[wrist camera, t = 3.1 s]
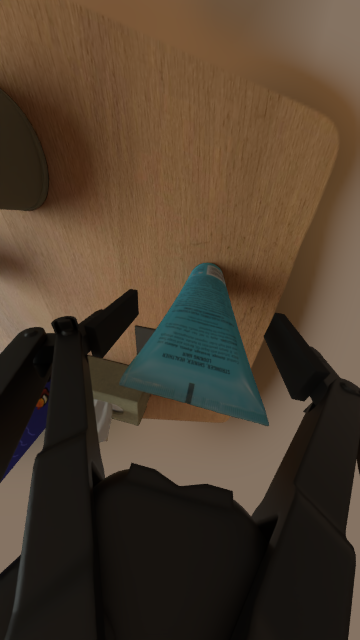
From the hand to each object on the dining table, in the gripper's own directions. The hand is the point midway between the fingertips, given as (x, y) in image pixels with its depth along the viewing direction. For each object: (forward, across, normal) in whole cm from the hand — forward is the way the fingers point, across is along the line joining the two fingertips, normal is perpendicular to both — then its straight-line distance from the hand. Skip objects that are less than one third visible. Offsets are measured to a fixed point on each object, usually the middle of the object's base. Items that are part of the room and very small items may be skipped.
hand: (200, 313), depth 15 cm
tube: (+10, 0, 0) cm, 10 cm away
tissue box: (+10, -18, -28) cm, 35 cm away
